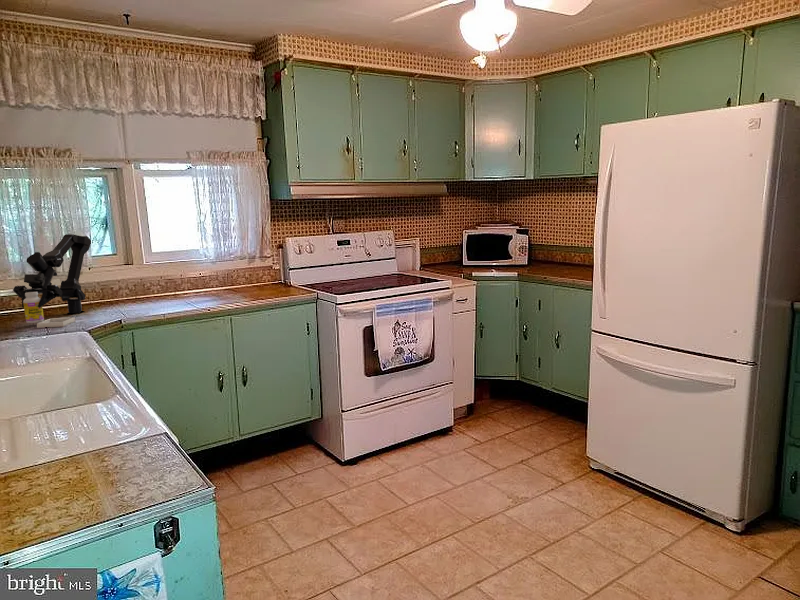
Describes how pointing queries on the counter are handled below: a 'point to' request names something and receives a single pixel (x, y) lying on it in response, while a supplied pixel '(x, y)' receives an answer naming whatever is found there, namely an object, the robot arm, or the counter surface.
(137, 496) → the counter surface
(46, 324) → the pocket tray
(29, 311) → the supplement bottle
